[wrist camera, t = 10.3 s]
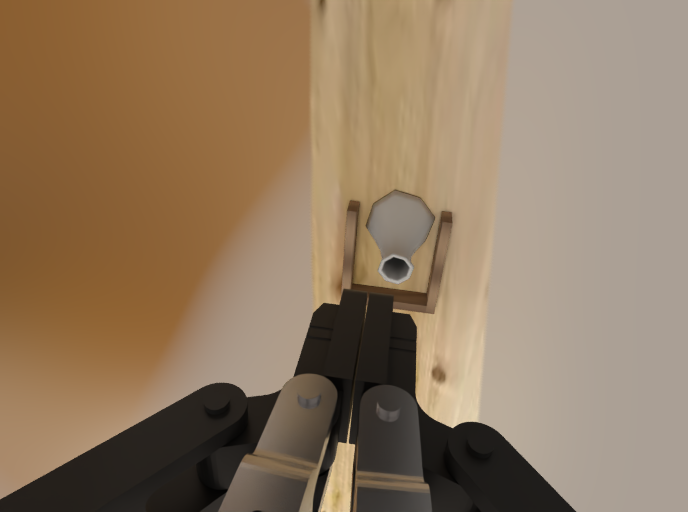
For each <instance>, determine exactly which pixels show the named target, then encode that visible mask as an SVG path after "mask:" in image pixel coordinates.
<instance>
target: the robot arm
mask: <svg viewBox="0 0 688 512" xmlns="http://www.w3.org/2000/svg"><path fill="white" fill-rule="evenodd" d="M367 296H368V292H367V291H359V290H352V289H343V293H342V297H341V301H340V305H336V304H328V303H323V304H322V305H321V306H320V307H319V308H318V309H317V310H316V311H315V312H314V313H313V316H312V319H311V323H310V327H309V329H308V332H307V336H306V338H305V342H304V345H303V348H302V351H301V355H300V358H299V361H298V364H297V367H296V370H295V374H294V377H293V378H291V379H290V380H289V381H287V382H286V383H285V385H284V386H283V388H282V389H281V390H279V391H277V392H275V393H272V394H269V395H263V396H254V397H246V395H245V393H244V392H243V391H242V390H241V389H240V388H239V387H237V386H235V385H233V384H229V383H215V384H210V385H207V386H205V387H203V388H201V389H199V390H197V391H195V392H193V393H192V394H190V395H188V396H186V397H184V398H183V399H181V400H179V401H177V402H175V403H174V404H172V405H170V406H168V407H166V408H165V409H163V410H161V411H159V412H157V413H156V414H154V415H152V416H151V417H148V418H147V419H145V420H143V421H141V422H139V423H138V424H136V425H134V426H132V427H130V428H129V429H127V430H125V431H123V432H121V433H119V434H118V435H116V436H114V437H112V438H111V439H109V440H107V441H105V442H103V443H101V444H100V445H98V446H96V447H94V448H92V449H91V450H89V451H87V452H85V453H83V454H82V455H80V456H78V457H76V458H74V459H73V460H71V461H69V462H67V463H65V464H64V465H62V466H60V467H58V468H56V469H55V470H53V471H51V472H49V473H47V474H46V475H44V476H42V477H40V478H38V479H37V480H35V481H33V482H31V483H29V484H27V485H26V486H24V487H22V488H20V489H19V490H17V491H15V492H13V493H11V494H9V495H8V496H6V497H4V498H2V499H0V512H321V508H322V505H323V501H324V497H325V493H326V490H327V486H328V482H329V478H330V475H331V471H332V464H333V462H334V460H335V456H336V451H337V445H338V442H342V443H346V442H347V435H348V429H349V423H350V417H351V411H352V417H351V427H350V437H349V444H355V453H354V462H353V470H352V484H351V502H350V512H576V511H575V510H574V509H573V508H572V507H571V506H570V505H569V504H568V503H567V502H566V501H565V500H564V499H563V498H562V497H561V496H560V495H559V494H558V493H557V492H556V491H555V490H554V489H553V487H551V485H550V484H548V482H547V481H546V480H545V479H544V478H543V477H542V476H541V475H540V474H539V473H538V472H537V471H536V470H535V469H534V468H533V467H532V466H531V465H530V464H529V463H528V462H527V461H526V460H525V459H524V458H523V457H522V456H521V455H520V454H519V453H518V452H517V451H516V449H514V448H513V446H512V445H511V444H510V443H509V442H508V441H507V440H506V439H505V438H504V437H503V436H502V435H501V434H500V433H499V432H497V431H496V430H495V429H493V428H491V427H489V426H487V425H485V424H482V423H478V422H465V423H461V424H459V425H457V426H455V427H454V428H451V427H449V426H446V425H444V424H442V423H440V422H438V421H436V420H434V419H432V418H431V417H429V416H428V415H427V414H426V413H425V412H424V411H423V410H422V409H421V407H420V406H419V404H418V402H417V399H416V394H415V384H416V338H417V327H416V325H415V323H414V321H413V319H412V318H411V316H410V314H403V313H395V312H392V311H393V300H394V295H390V294H383V293H375V292H370V294H369V300H368V306H367V312H366V305H367ZM365 315H366V318H365ZM352 405H353V408H352Z"/></svg>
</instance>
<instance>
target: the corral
mask: <svg viewBox="0 0 688 512" xmlns="http://www.w3.org/2000/svg"><path fill="white" fill-rule="evenodd" d="M358 211H359V202H357V201H350V203H349V207H348V210H347V221H346V235H345V249H344V263H343V277H342V290H341V297H342V293H343V289H352V290H359V291H367V292H368V296H367V305H368V300H369V294H370V292H375V293H383V294H390V295H394V300H393V309H400V310H408V311H415V312H422V313H430V314H434V312H435V307H436V302H437V297H438V292H439V287H440V282H441V277H442V272H443V267H444V262H445V257H446V252H447V247H448V242H449V238H450V233H451V228H452V214H451V212H443V211H442V214H441V219H440V225H439V230H438V235H437V241H436V246H435V251H434V257H433V262H432V267H431V273H430V278H429V283H428V289H427V293H419V292H411V291H404V290H396V289H389V288H381V287H373V286H366V285H358V284H352V281H353V270H354V258H355V246H356V235H357V223H358Z"/></svg>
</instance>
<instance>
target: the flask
mask: <svg viewBox="0 0 688 512" xmlns="http://www.w3.org/2000/svg"><path fill="white" fill-rule="evenodd" d="M434 220H435V217H434V216H433V214H432V213H431V212H430V210H429V209H428V208H427V206H426V205H425V204H424V202H423V201H422V199H421V198H418V197H415V196H412V195H409V194H406V193H402V192H399V191H396V190H395V191H393V192H391V193H390V194H388V195H387V196H385V197H383V198H382V199H380V200H379V201H377V202H376V203H374V204H373V206H372V209H371V212H370V215H369V218H368V221H367V224H366V227H367V229H368V230H369V232H370V234H371V235H372V237H373V238H374V240H375V242H376V243H377V245H378V247H379V249H380V251H381V256H382V260H381V263H380V265H379V268H378V272H379V273H380V274H381V276H382V277H383V278H384V279H385V281H389V282H392V283H395V284H400V283H402V282H404V281H406V280H407V279H409V278H410V276H411V273H412V271H413V269H414V266H413V264H412V263H411V256H412V255H413V254H414V253H415V251H416V250H417V249H418V248H419V247H420V246H421V245H422V244H423V243H424V242H425V240H426V239H427V236H428V234H429V232H430V229H431V227H432V225H433V222H434Z"/></svg>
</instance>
